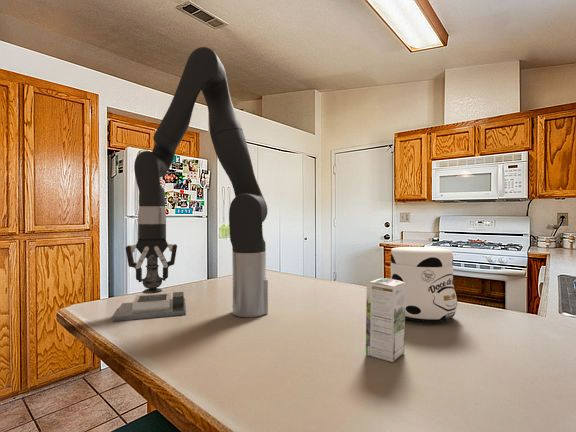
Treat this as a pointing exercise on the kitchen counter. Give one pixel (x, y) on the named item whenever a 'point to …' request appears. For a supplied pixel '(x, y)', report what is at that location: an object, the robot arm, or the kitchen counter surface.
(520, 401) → the kitchen counter surface
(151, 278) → the grey chess piece
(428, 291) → the milk container
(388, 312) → the syrup box
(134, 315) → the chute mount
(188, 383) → the kitchen counter surface
